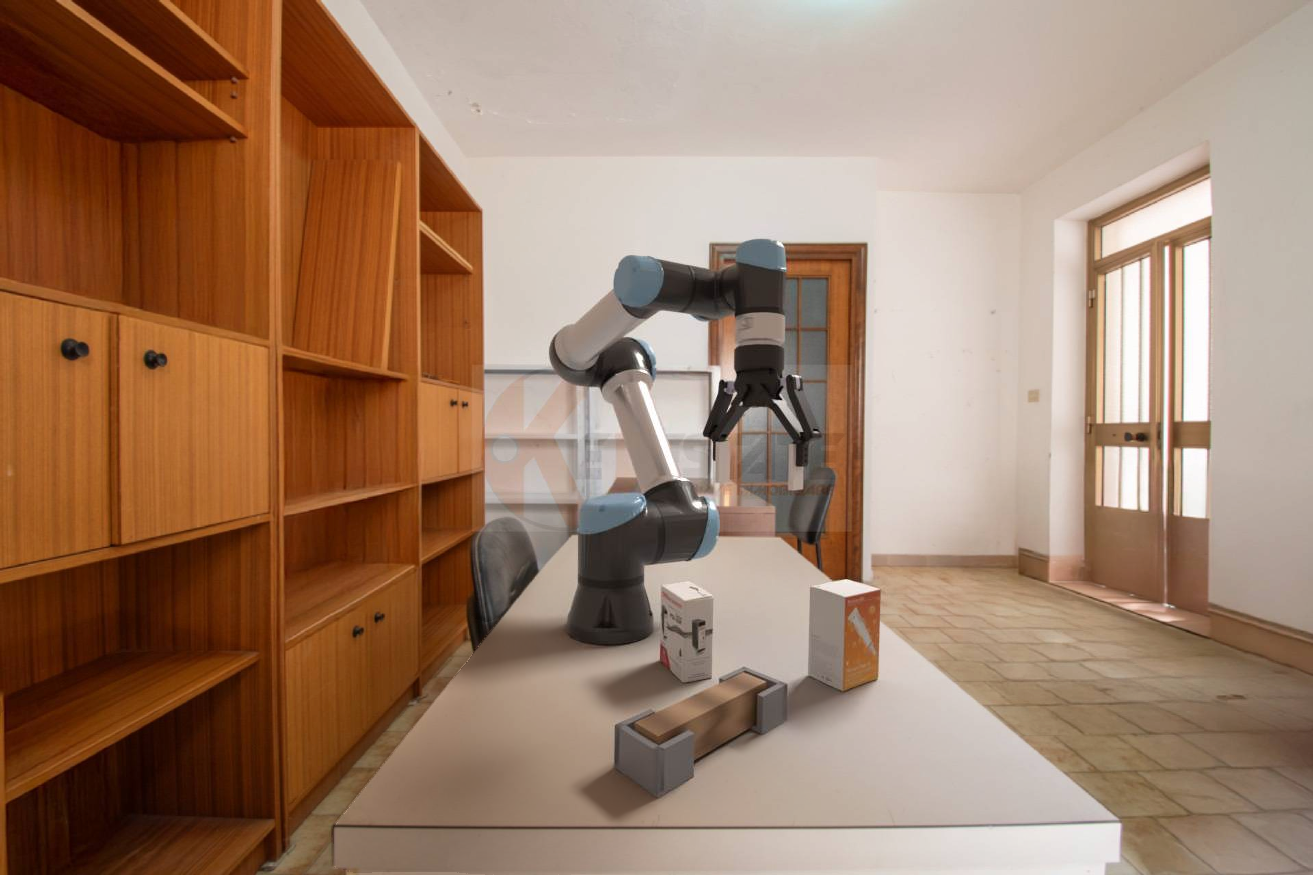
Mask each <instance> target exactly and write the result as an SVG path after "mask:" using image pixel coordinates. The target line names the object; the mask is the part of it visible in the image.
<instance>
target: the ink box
mask: <svg viewBox="0 0 1313 875" xmlns="http://www.w3.org/2000/svg"><path fill="white" fill-rule="evenodd" d="M714 600H715V598H714V596H713V594H712V593H710V592H709V591H707V590H705V589H704V588H702V587H701V586H698V585H697V584H695V583H693V582H691V581H680V582H675V583H668V584H661V585H660V632H659V635H660V636H659V637H660V639H659V661H660V662H661V663H662V664H663V665H664V666H665V667H666V668H667V669H669V671H671V672H672V674H674V675H675V676H676V677H677V678H678V679H679V681H681V683H690V682H695V681H700V680H706V679H712V677H713V644H714V642H713V641H714V640H713V639H714V636H713V635H714V631H713V630H714Z"/></svg>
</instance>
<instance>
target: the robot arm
mask: <svg viewBox="0 0 1313 875" xmlns="http://www.w3.org/2000/svg"><path fill="white" fill-rule="evenodd" d="M786 258H787V257H786V249H785V246H784V245H783V244H782V243H781V242H780V241H778V240H776V239H770V238H753V239H748V240H745V241H743V242H741V243H740V244H738V246H737V248H736V250H735V257H734V264H732V265H730V266H728V267H725V268H723V269H720V270H719V269H717V270H716V269H712V268H711V269H710V268H705V267H700V266H697V265H696V266H695V265H691V264H690V265H689V264H685V263H679V262H674V261H670V260H666V259H660V258H656V257H653V256H650V255H647V256H646V255H636V254H635V255H634V254H629V255H625V256H624V257H622V258H621V259H620V261H619V262H618V266H617V268H616V269H615V272H614V275H613V280H612V281H613V283H612V284H613V285H612V287H613V288H612V289H611V290H610V291H609V292H608V293H607V294H606V295H604V296H603V297H602V298H601V299H600V300H599V301H598V302H597V303H596V304H594V306H593V307H591V308H590V309H589V310H587V312H586V313H585V314H584V315H582V316H581V317H580V318H579V319H578V320H577V321H576V322H575V323H571V324H567V325H565V326H563V327H561V328H560V329H559V330H558V332H556V334H555V335H554V336H553V338H552V339H551V341H550V344H549V347H548V355H549V356H548V357H549V358H548V359H549V363H550V364H551V366H552V368H553V370H554V372H555V373H556V374H557V375H558V377H560V378H561V379H563V380H564V381H565V382H567V383H568V384H571V385H574V386H578V387H587V388H598V389H599V390H600V393H601V396H602V398H603V400H604V401H605V402H607V403H608V404H610V405H612V407H613V410H614V414H615V416H616V419H617V422H618V425H619V428H620V431H621V434H622V438H623V441H624V443H625V446H626V447H625V448H626V449H627V452H628V455H629V458H630V461H631V464H632V469H633V470H634V473H635V476H636V479H637V482H638V486H639V489H640V492H641V493H639V492H622V493H619V492H618V493H616V492H615V493H610V494H604V495H600V496H595V497H592V498H589V499H587V500H585V501H584V502H583V503H582V504H581V505H580V508H579V509H578V510H579V511H578V523H577V527H576V531H577V587H576V588H575V593H574V596H573V598H572V602H571V606H570V610H569V612H568V613H567V617H566V619H567V620H566V631H567V634H568V635H569V636H571V637H572V638H573V639H575V640H578V641H581V642H584V643H589V644H595V645H597V644H598V645H622V644H628V643H633V642H637V641H640V640H644V639H645V638H647V637H649V636H650V635H651V634H652V633H653V631H654V625H655V624H654V622H655V620H654V619H655V618H654V613H653V611H652V609H651V604H650V600H649V596H648V594H647V589H646V587H645V566H646V567H647V566H652V565H662V564H663V565H664V564H670V563H672V564H673V563H679V562H692V561H693V560H697V559H698V560H699V559H702V558H705V557H707V556H708V555H710V554H711V552H712V551H713V550H714V548H716V545H717V542H718V541H719V540H718V539H719V533H720V527H721V524H720V523H721V521H720V514H719V511H718V507H717V506H716V504H715V502H714V500H712V499H711V498H708V497H706V496H704V495H702V496H699V495H698V493H697V490H696V488H695V485H694V483H693V481H692V480H689V479H688V478H685V477H683V475H682V473H681V472H682V471H681V470H680V467H679V464H678V463H677V462H678V461H677V459H676V457H675V453H674V452H673V450H672V446H671V444H670V441H669V439H668V436H667V434H666V431H665V427H664V426H663V422H662V420H661V416H660V415H659V412H658V410H657V407H656V404H655V402H654V400H653V397H652V393H651V390H652V387H653V384H654V382H655V380H656V377H657V370H658V369H657V367H656V365H657V360H656V359H657V358H656V355H655V352H654V350H653V348H652V347H651V346H650V344H648V343H647V342H646V341H644V340H642V339H639V338H634V337H630V336H627V335H629V334H630V333H631V332H632V331H634V330H635V329H637V327H639V326H640V325H642V324H644V322H646V321H648V320H649V319H650V318H652V317H653V316H654V315H656V314H657V313H659V312H662V311H665V312H672V313H680V314H687V315H690V316H691V317H693V318H694V319H696V320H697V321H699V322H702V323H703V322H704V323H706V322H718V321H719V320H723V319H724V318H725V319H726V318H727V317H732V316H734V344H736V347H735V349H734V351H733V369H734V371H735V375H736V376H735V380H734V381H733V380H730V379H720V380H719V382H718V390H717V396H716V397H715V400H714V402H713V405H712V408H711V410H710V413H709V415H708V418H707V420H706V422H705V426H704V428H703V431H702V436H703V437H704V438H708V439H710V440H711V442H712V461H713V462H715V463H714V465H715V469H714V470H715V471H714V472H715V474H714V478H715V481H714V483H716V484H723V483H730V480H731V479H730V476H731V475H730V473H731V472H730V471H731V468H730V467H731V466H730V465H731V441H729V439H728V437H729V436H730V435H731V433H732V431H733V430H734V429H735V427H736V425H737V424H738V422H740V419H741V418H742V417H743V415H744V414H745V413H746V411H749V410H750V409H751V408H753V409H754V408H757V409H758V408H769V409H770V410H771V411H772V412H773V414H774V415H775V417H776V418H777V419H778V421H779V422H780V423H781V425H782V427H783V428H784V429H785V431H786V432H787V433H788V435H789V437H790V438H791V439H792V442H791V444H788V471H787V472H788V476H787V480H788V481H787V484H788V485H787V490H788V491H800V490H804V469H805V468H806V467H808V465H809V452H810V451H809V447H810V444H811V443H812V442H814V441H816V440H817V441H818V440H821V439H822V437H823V435H822V431H821V429H820V426H819V424H818V421H817V420H816V417H815V414H814V412H813V410H812V408H811V405H810V403H809V400H808V399H807V396H806V394H805V391H804V382H803V377H802V376H801V375H795V374H787V375H786V376H785V377H784V376H783V371H784V369H785V348H784V347H783V346H781V345H784V343H785V342H786V288H787V287H786V284H787V273H788V272H787V271H788V269H787V259H786ZM783 390H785V391H786V393H787V395H788V398H789V401H790V403H791V406H792V408H793V411H794V412H795V414H794V413H793V411H791V409H790V408H789V406H788V402H787V401H786V399H785V398H784V397H783V395H782V394H781V393H782V391H783ZM735 393H736V395H734V394H735ZM733 396H734V397H733ZM730 405H731V406H730ZM795 415H796V416H795ZM804 467H805V468H804Z"/></svg>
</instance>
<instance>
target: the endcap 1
mask: <svg viewBox="0 0 1313 875" xmlns="http://www.w3.org/2000/svg"><path fill="white" fill-rule="evenodd" d="M654 713H656V711H654V710H653V709H651V708H649V709H646V710H645V711H642V712H640V713H637V714H636V715H634V716H631V717H629V718H626V719H624V720H622V721H620V722H618V723H616V724H614V745H613V746H614V748H613V749H614V750H613V751H614V752H613V753H614V754H613V755H614V756H613V757H614V758H613V767H614V768H615V769H616V770H618V771H619V772H620V773H622V774H623V775H625V777H627V778H629V779H630V780H632V781H633V782H635V783H636V784H637V785H639V786H640V787H641V788H643V789H644V790H646V791H647V792H648V793H650V794H651V795H652V796H654V797H656V798H657V799H659V798H661V797H662V796H664V795H666V794H668V793H669V792H671V791H672V790H674V789H675V788H677V787H679V786H680V785H682V784H683V783H686V782H687V781H688V780H690V779H692V778H694V777H695V760H694V733H693V732H691V731H689V730H688V731H686V732H684V733H682V734H680V735H678V736H676V737H674V738H672V739H670V740H669V741H667V742H665V743H663V744H661V745H657V744H656V743H654V742H652V741H651V740H649V739H647V738H646V737H644V736H642V735H641V734H639V733H638V732H636V731H635V722H637V721H639V720H641V719H643V718H645V717H648V716H650V715H652V714H654Z"/></svg>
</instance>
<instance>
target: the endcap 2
mask: <svg viewBox="0 0 1313 875" xmlns="http://www.w3.org/2000/svg"><path fill="white" fill-rule="evenodd" d="M742 672H744V673H746V674H749V675H751V676H754V677H756V678H759V679H761V680H764V681H766V690H765V691H763V692H761V693H759V694H757V724H756V725H754V726H752V727H751V728H749V729H750V730H752V731H753V732H756V733H758V734H759V735H762V736H763V735H764V734H766V733H767V732H770V731H771V730H772V729H774V728H776V727H777V726H779V725H781V724H782V723H784V722H786V721H788V683H787V682H784V681H781V680H780V679H779V680H778V679H776V678H773V677H771V676H769V675H766V674H764V673H761V672H759V671H756V670H753V669H751V668H750V667H746V666H742V667H739V668H738V669H735V670H733V671H731V672H728V673H727V674H724V675H723V676H720V677H719V678H718V684H719V683H721V682H723V681H725V680H727V679H730V678H732V677H734V676H736V675H738V674H740V673H742Z"/></svg>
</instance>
